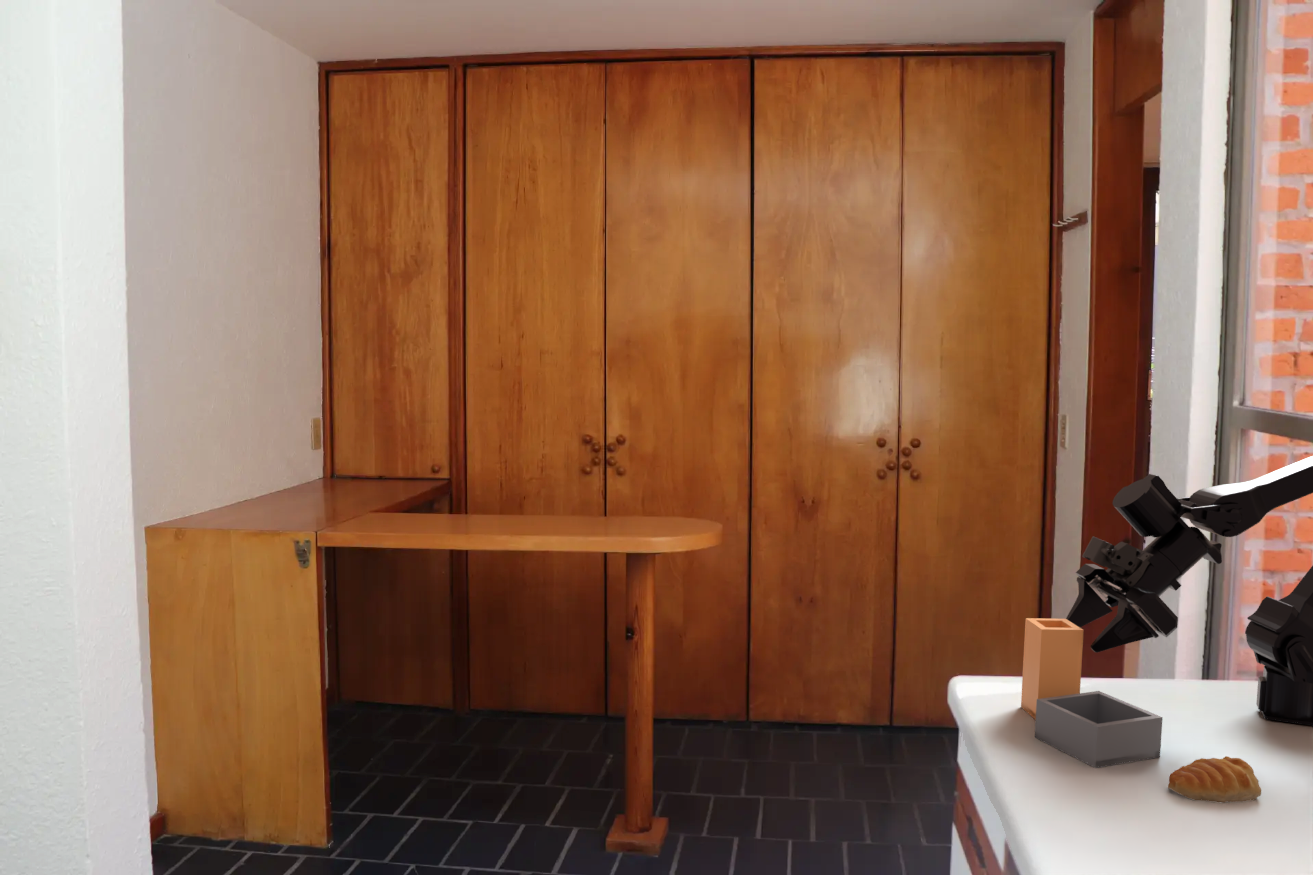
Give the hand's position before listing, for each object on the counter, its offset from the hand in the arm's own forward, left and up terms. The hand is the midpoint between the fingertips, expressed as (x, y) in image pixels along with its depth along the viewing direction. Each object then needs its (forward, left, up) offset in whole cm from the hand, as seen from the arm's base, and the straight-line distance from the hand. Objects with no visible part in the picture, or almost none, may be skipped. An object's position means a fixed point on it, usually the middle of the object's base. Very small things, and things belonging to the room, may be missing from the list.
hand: (1077, 639), depth 141 cm
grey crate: (-3, +11, -10) cm, 16 cm away
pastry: (-15, +20, -11) cm, 27 cm away
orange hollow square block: (+3, +1, -10) cm, 11 cm away
